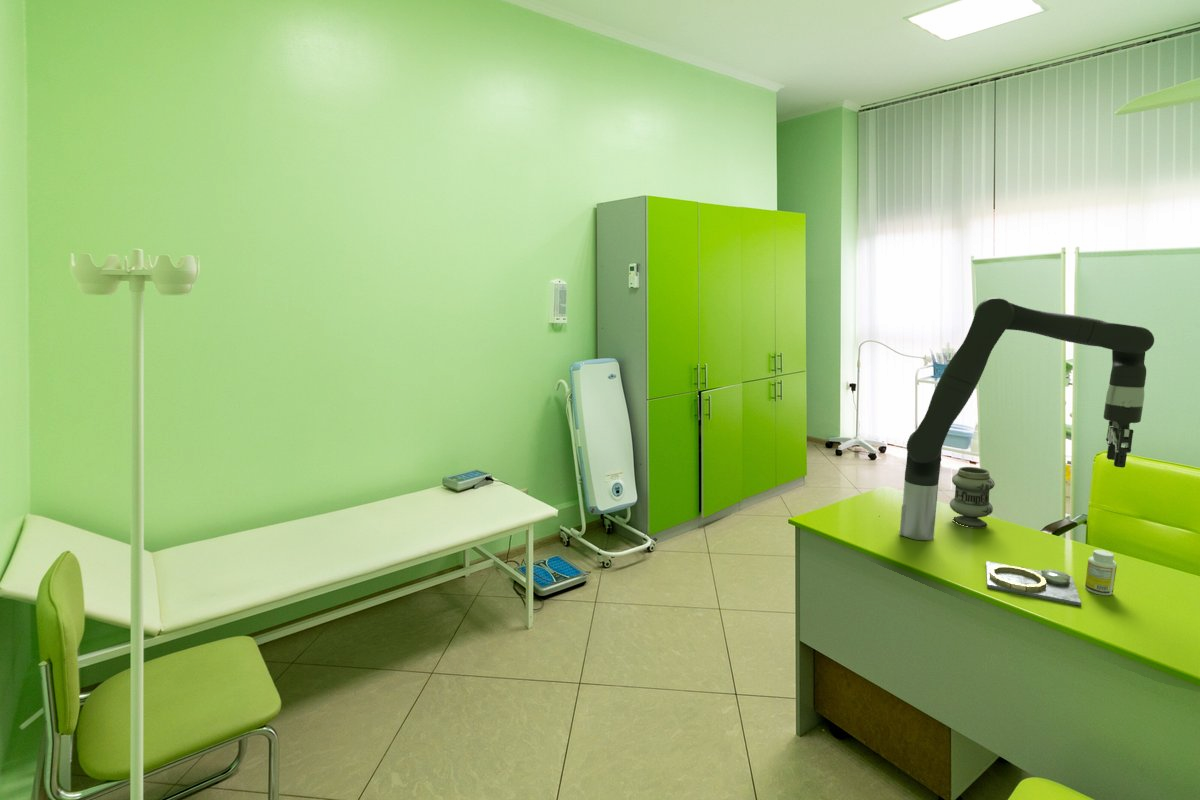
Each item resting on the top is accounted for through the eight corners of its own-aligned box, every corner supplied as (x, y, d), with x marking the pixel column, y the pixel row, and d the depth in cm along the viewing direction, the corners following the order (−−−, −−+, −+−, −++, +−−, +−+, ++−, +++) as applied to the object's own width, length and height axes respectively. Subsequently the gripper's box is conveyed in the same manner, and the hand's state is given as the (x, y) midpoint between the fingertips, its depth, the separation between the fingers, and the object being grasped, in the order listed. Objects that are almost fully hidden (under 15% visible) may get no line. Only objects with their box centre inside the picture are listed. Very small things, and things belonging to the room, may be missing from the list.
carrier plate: (987, 587, 156) (988, 578, 156) (985, 564, 170) (986, 555, 170) (1080, 606, 147) (1082, 596, 146) (1071, 580, 160) (1072, 571, 160)
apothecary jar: (948, 514, 209) (953, 462, 206) (990, 520, 203) (995, 467, 200) (947, 525, 199) (952, 471, 196) (991, 532, 193) (997, 477, 190)
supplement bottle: (1097, 584, 158) (1102, 547, 156) (1118, 595, 152) (1124, 556, 151) (1078, 586, 157) (1083, 549, 155) (1099, 597, 151) (1105, 558, 150)
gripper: (1100, 398, 168) (1092, 455, 171) (1111, 405, 156) (1103, 467, 159) (1135, 400, 165) (1127, 459, 167) (1150, 408, 153) (1140, 471, 155)
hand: (1115, 463), depth 163 cm, fingers open, 8 cm apart
